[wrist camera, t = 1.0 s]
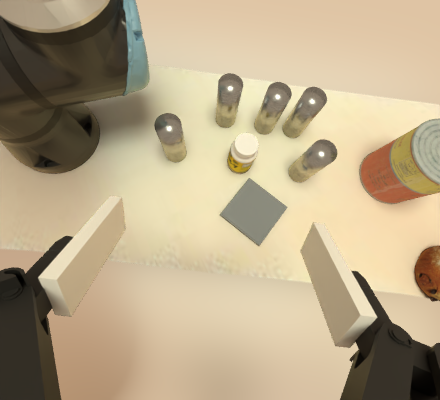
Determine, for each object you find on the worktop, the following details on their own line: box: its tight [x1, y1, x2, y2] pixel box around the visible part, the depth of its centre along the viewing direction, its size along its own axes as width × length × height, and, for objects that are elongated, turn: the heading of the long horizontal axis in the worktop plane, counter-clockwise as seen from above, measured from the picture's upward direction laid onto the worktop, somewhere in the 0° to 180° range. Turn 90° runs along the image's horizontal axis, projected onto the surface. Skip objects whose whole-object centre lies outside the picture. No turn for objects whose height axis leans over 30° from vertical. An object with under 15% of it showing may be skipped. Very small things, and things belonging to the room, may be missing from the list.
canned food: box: [359, 119, 440, 204], centre depth 40 cm, size 11×11×12 cm
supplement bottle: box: [227, 133, 259, 174], centre depth 40 cm, size 5×5×8 cm
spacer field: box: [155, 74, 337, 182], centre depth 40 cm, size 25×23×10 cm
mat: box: [220, 178, 287, 246], centre depth 42 cm, size 9×9×1 cm
